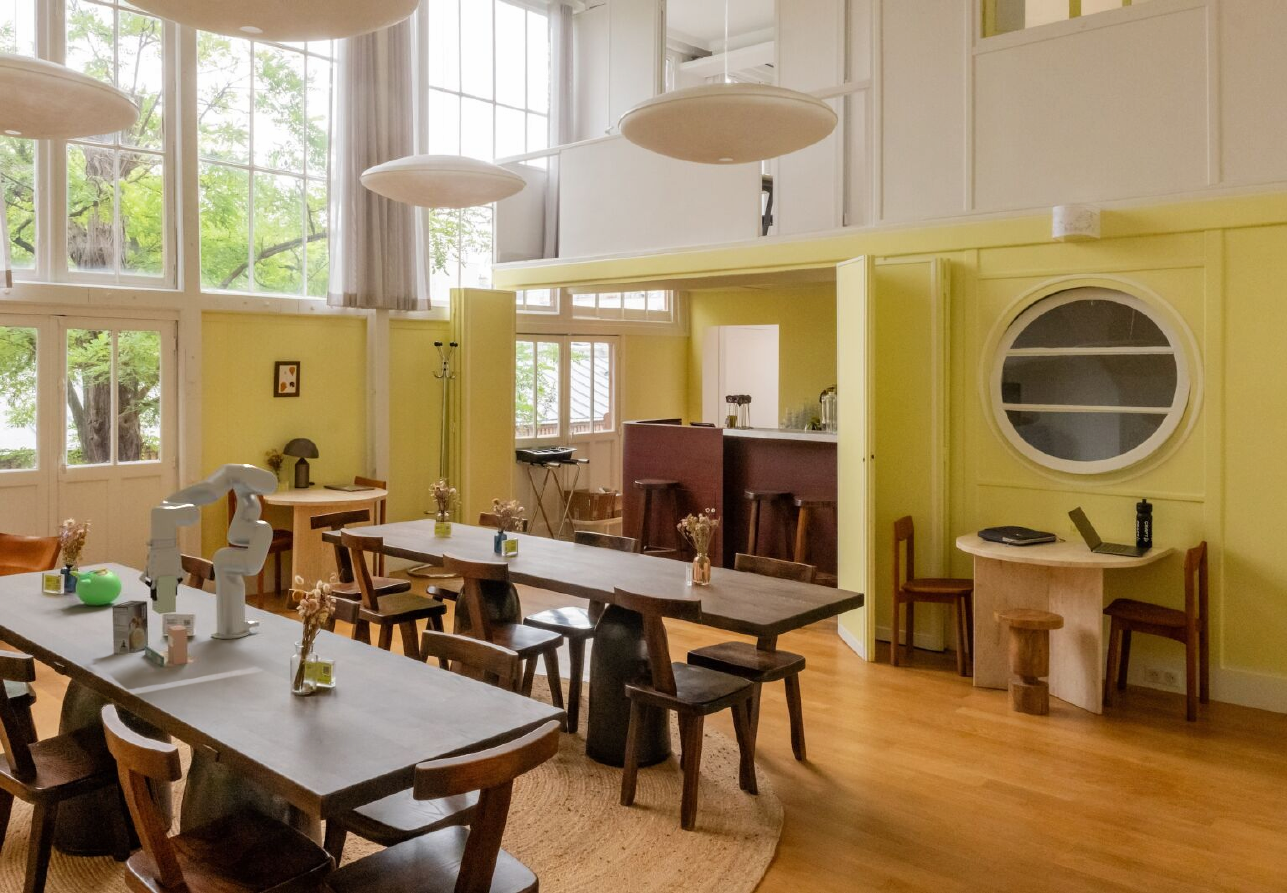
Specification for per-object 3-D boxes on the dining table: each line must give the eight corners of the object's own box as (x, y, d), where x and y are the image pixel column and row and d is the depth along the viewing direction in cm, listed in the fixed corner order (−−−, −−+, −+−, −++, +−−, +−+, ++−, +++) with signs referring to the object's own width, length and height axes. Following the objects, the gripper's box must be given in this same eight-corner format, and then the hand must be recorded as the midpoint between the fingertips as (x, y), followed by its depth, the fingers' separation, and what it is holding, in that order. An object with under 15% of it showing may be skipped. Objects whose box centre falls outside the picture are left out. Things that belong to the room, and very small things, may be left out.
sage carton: (175, 611, 320) (175, 575, 320) (158, 613, 317) (158, 576, 316) (168, 607, 326) (168, 571, 326) (152, 609, 323) (151, 573, 322)
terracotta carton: (181, 658, 317) (181, 624, 316) (187, 662, 313) (187, 628, 312) (167, 660, 314) (167, 626, 314) (173, 664, 310) (173, 630, 309)
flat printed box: (180, 653, 328) (180, 640, 328) (199, 665, 315) (198, 651, 315) (144, 659, 321) (144, 645, 321) (162, 671, 308) (161, 657, 307)
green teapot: (128, 605, 396) (127, 569, 395) (81, 611, 384) (81, 574, 383) (112, 598, 408) (111, 563, 407) (66, 604, 396) (66, 568, 395)
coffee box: (132, 646, 336) (131, 599, 335) (148, 647, 335) (148, 601, 334) (112, 653, 327) (111, 605, 326) (129, 654, 326) (128, 606, 325)
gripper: (138, 547, 312) (138, 604, 313) (194, 543, 323) (194, 598, 324) (132, 544, 318) (132, 600, 319) (188, 540, 329) (188, 594, 330)
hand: (163, 598), depth 321 cm, fingers closed on sage carton, 5 cm apart
